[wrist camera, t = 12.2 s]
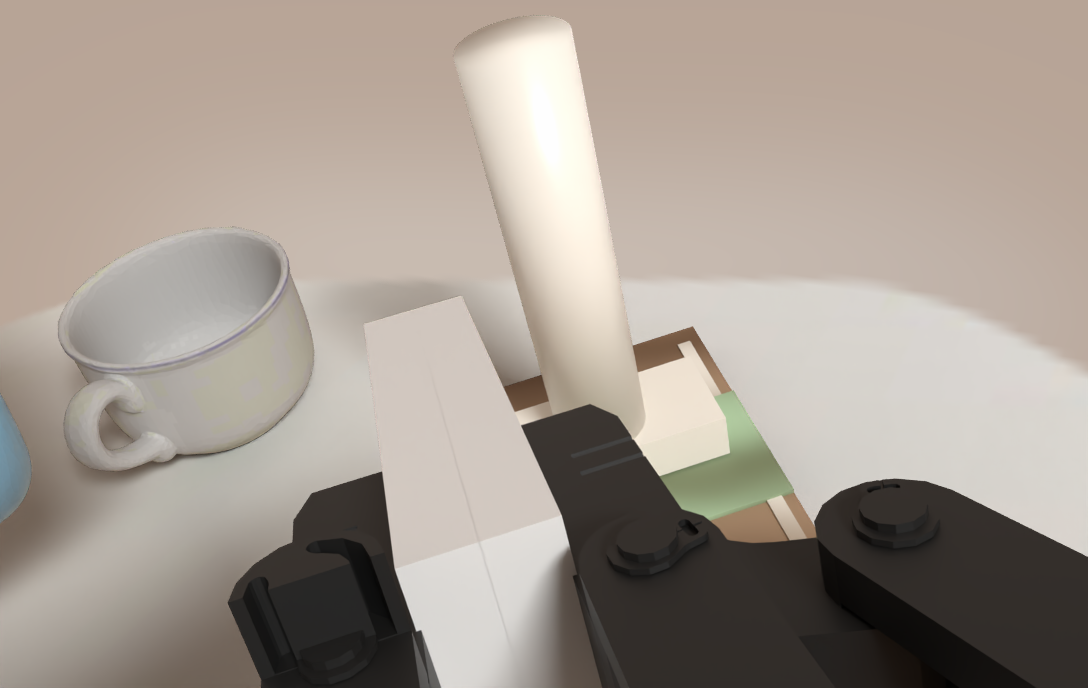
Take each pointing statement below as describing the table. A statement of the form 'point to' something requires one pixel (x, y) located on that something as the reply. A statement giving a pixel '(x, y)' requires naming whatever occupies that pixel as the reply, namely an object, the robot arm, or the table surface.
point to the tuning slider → (571, 243)
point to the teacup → (185, 347)
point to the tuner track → (723, 482)
